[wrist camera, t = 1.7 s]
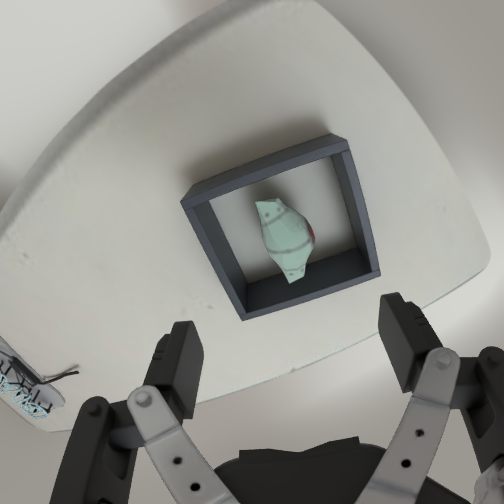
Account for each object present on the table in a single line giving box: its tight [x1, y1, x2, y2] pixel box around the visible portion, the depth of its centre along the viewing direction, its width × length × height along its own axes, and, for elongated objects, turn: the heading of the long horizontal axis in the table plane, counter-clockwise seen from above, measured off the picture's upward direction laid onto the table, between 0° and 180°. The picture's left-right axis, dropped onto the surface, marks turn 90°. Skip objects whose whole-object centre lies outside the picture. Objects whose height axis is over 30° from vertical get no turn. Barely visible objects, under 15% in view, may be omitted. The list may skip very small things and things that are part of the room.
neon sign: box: [0, 337, 79, 419], centre depth 41 cm, size 21×4×29 cm
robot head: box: [255, 198, 315, 284], centre depth 26 cm, size 8×4×7 cm, turn 22°
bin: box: [180, 134, 381, 321], centre depth 27 cm, size 14×13×5 cm
